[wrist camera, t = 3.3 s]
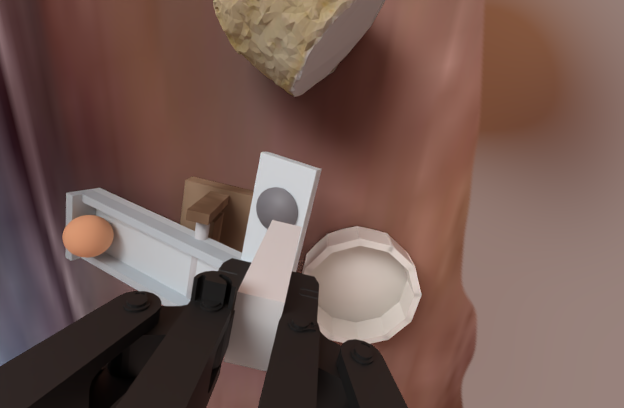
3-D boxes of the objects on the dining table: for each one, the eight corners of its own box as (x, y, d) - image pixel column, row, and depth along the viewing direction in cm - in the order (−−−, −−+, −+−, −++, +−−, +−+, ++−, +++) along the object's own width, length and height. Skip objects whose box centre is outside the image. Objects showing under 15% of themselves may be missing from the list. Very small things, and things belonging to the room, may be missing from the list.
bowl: (291, 310, 33) (288, 331, 30) (316, 215, 30) (315, 227, 27) (392, 333, 33) (398, 355, 30) (426, 241, 30) (437, 256, 27)
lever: (97, 261, 32) (65, 273, 29) (104, 98, 27) (67, 94, 25) (274, 362, 25) (252, 388, 23) (322, 169, 21) (302, 173, 18)
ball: (85, 241, 30) (50, 257, 26) (86, 205, 29) (50, 217, 25) (121, 251, 29) (91, 270, 26) (124, 215, 28) (92, 229, 25)
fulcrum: (177, 292, 33) (142, 337, 26) (192, 176, 29) (156, 196, 23) (237, 305, 33) (216, 353, 27) (259, 192, 29) (241, 216, 23)
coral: (317, 150, 21) (180, 21, 16) (294, 94, 29) (198, -5, 23) (445, 37, 18) (334, -171, 13) (381, 9, 26) (296, -127, 21)
